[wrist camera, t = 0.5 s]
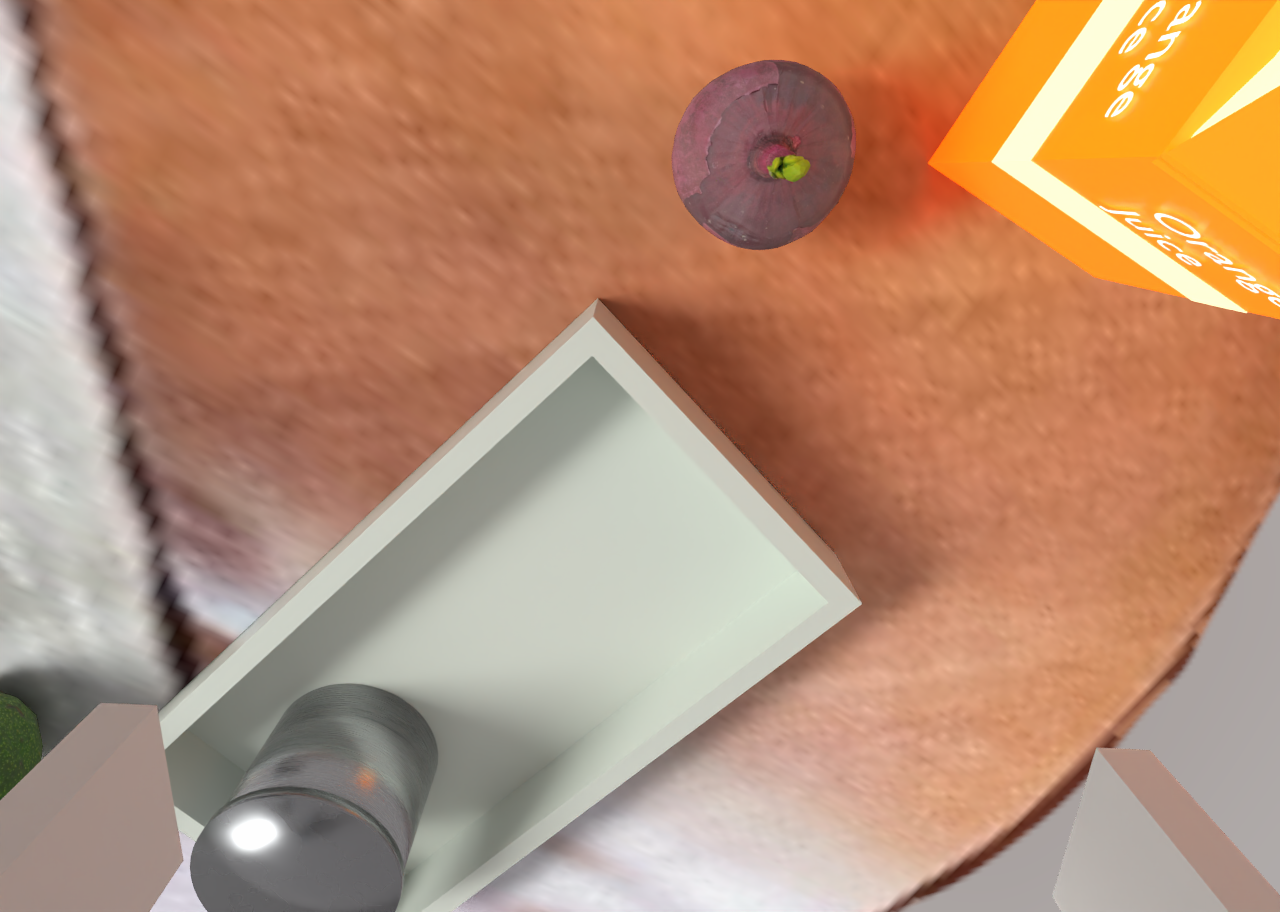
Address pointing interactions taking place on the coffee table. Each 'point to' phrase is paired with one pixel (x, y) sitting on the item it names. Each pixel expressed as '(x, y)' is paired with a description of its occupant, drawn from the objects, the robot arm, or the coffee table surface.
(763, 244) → the vegetable
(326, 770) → the tin
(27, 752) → the avocado
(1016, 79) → the orange juice
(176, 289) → the coffee table surface
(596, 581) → the grey tray
